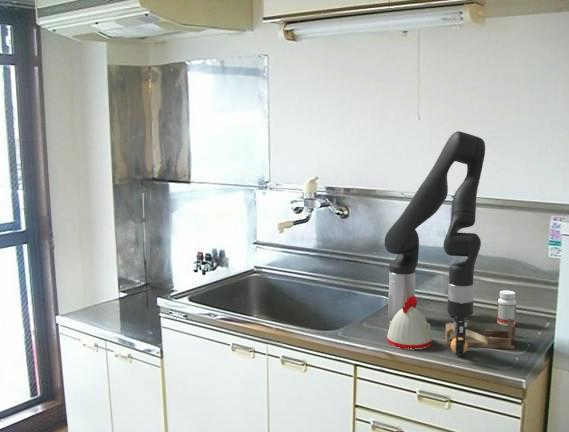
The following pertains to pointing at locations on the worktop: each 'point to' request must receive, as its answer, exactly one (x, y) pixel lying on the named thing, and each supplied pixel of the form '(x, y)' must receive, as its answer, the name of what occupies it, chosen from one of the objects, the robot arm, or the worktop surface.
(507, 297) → the pill bottle
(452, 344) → the ball
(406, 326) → the white dome
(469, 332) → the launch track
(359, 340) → the worktop surface
